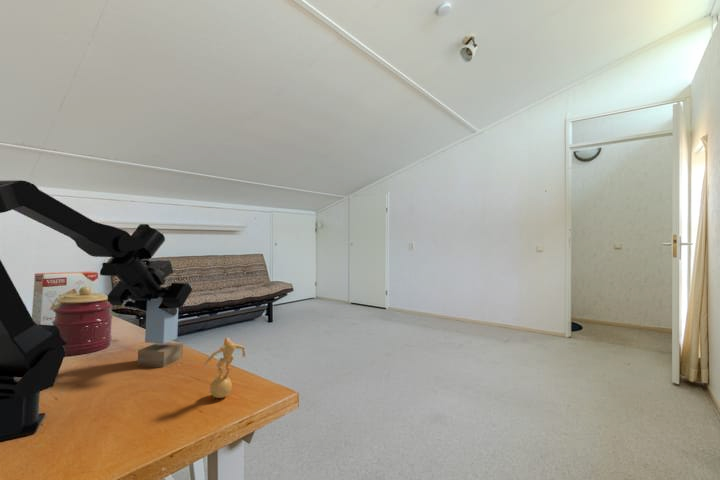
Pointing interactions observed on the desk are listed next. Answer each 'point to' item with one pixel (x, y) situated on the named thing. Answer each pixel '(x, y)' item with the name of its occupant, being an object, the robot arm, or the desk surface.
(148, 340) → the blue pillar
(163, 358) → the beige block
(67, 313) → the canister
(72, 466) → the desk surface
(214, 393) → the figurine
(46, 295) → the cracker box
